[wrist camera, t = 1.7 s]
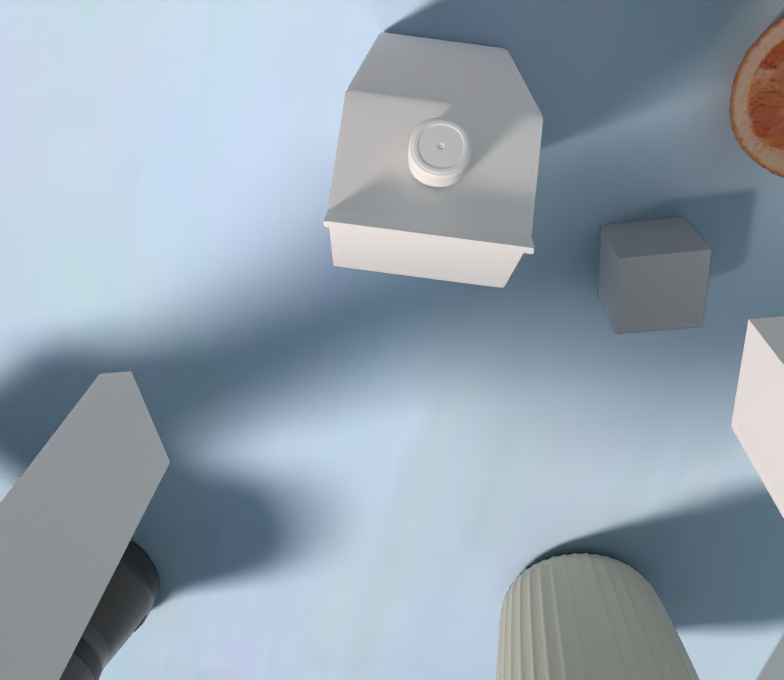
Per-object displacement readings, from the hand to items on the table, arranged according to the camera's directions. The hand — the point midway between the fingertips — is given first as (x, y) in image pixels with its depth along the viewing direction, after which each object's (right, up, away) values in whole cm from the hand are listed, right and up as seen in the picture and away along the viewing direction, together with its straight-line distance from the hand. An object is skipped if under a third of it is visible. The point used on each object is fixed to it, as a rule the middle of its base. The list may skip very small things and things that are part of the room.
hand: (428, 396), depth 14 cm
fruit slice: (+21, +16, +22) cm, 34 cm away
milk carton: (+2, +15, +24) cm, 28 cm away
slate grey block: (+15, +7, +28) cm, 32 cm away
